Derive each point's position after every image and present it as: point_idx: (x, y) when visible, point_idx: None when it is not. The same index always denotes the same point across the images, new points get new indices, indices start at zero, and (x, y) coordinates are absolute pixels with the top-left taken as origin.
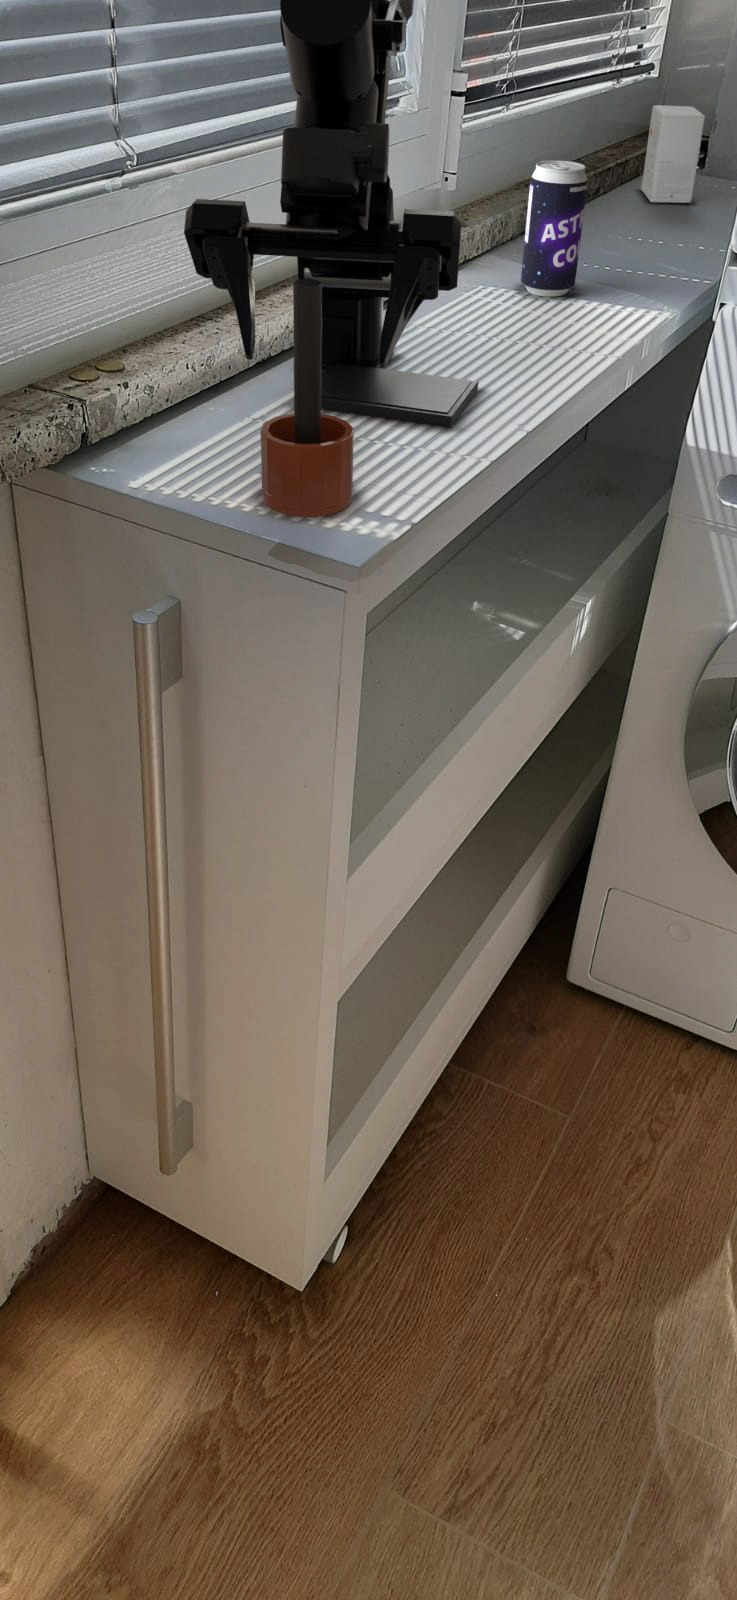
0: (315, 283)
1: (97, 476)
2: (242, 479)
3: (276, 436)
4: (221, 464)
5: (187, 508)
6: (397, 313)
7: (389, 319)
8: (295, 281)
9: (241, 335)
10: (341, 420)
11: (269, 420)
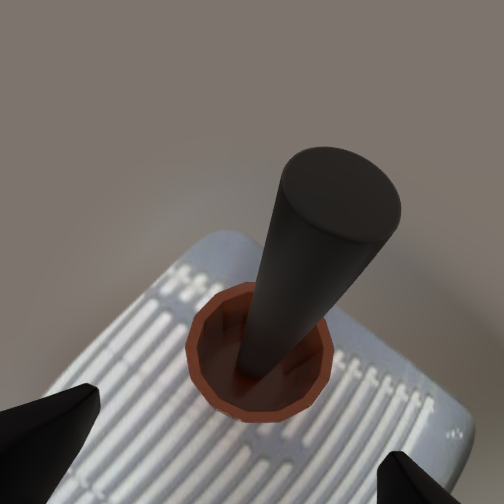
0: (311, 165)
1: (457, 418)
2: (325, 428)
3: (302, 391)
4: (347, 469)
5: (380, 349)
6: (3, 418)
7: (29, 420)
8: (396, 205)
9: (422, 470)
10: (198, 382)
11: (320, 389)
